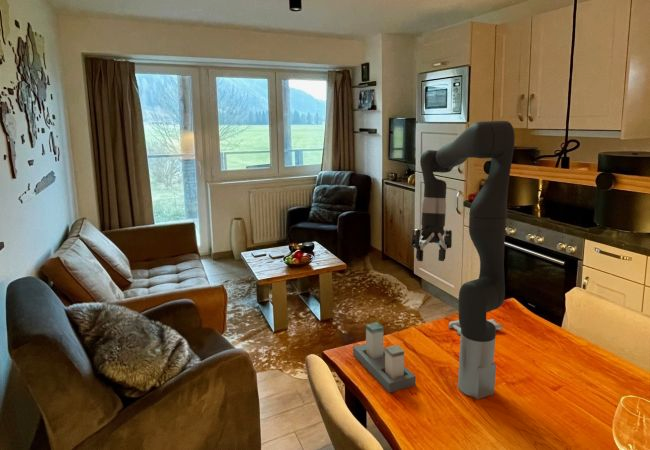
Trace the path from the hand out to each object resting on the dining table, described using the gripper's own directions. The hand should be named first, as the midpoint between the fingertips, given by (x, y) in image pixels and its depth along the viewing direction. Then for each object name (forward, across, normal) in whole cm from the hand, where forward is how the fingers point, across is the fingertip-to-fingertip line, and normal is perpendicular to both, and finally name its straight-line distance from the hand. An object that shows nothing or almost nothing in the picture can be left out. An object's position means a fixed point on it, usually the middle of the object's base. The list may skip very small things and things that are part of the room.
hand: (430, 260), depth 143 cm
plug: (+33, -18, +3) cm, 37 cm away
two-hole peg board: (+34, -18, -2) cm, 38 cm away
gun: (+27, +26, +6) cm, 39 cm away
